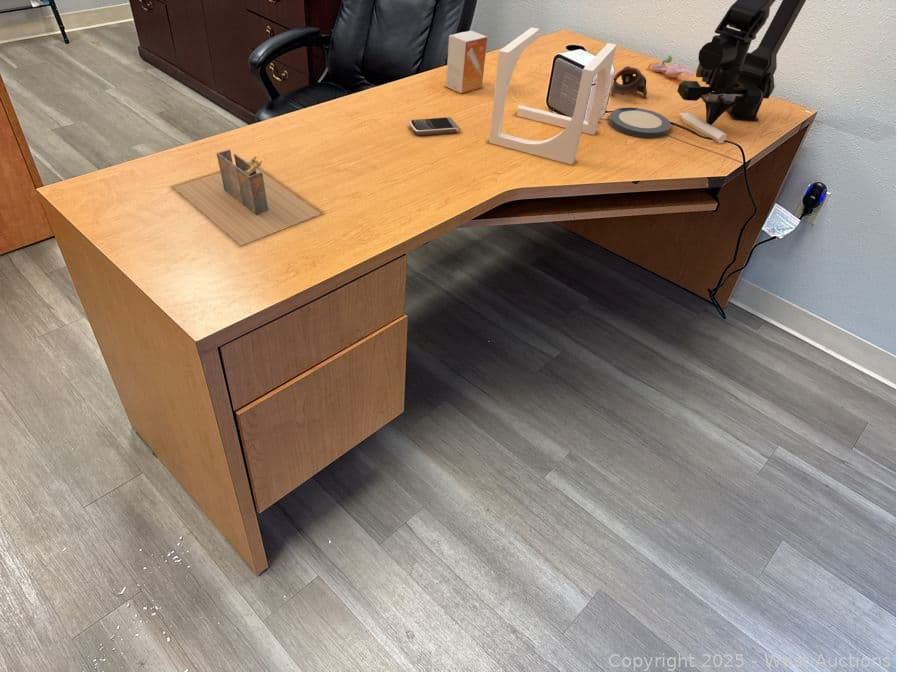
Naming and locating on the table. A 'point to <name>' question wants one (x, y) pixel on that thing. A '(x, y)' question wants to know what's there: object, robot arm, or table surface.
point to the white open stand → (568, 139)
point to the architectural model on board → (245, 200)
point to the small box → (466, 61)
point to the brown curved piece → (629, 82)
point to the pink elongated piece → (670, 68)
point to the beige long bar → (703, 127)
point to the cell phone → (434, 126)
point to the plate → (639, 122)
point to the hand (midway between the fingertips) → (707, 126)
